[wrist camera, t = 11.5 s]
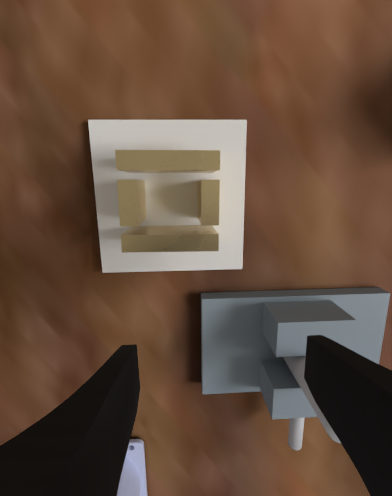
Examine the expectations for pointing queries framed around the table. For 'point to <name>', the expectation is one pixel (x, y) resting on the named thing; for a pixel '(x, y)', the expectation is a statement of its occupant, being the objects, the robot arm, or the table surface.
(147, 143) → the mat
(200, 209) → the sleeve
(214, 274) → the table surface
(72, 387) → the table surface
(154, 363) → the table surface
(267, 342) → the vise
